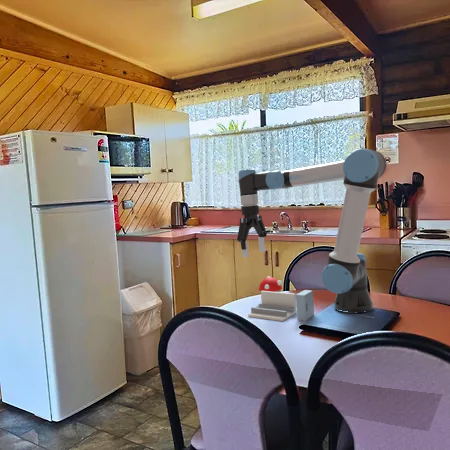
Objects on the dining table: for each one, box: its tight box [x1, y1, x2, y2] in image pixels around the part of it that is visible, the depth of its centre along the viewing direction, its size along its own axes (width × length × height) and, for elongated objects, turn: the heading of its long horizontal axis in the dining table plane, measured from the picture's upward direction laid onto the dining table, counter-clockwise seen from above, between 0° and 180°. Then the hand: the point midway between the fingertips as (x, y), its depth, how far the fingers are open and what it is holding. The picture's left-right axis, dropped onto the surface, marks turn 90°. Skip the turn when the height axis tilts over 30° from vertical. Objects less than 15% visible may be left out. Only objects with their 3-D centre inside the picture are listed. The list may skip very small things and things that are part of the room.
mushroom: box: [258, 276, 283, 292], centre depth 189 cm, size 11×11×12 cm
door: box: [295, 289, 315, 322], centre depth 165 cm, size 8×4×10 cm, turn 144°
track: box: [247, 291, 297, 322], centre depth 171 cm, size 16×12×8 cm
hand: (254, 254), depth 180 cm, fingers open, 13 cm apart
